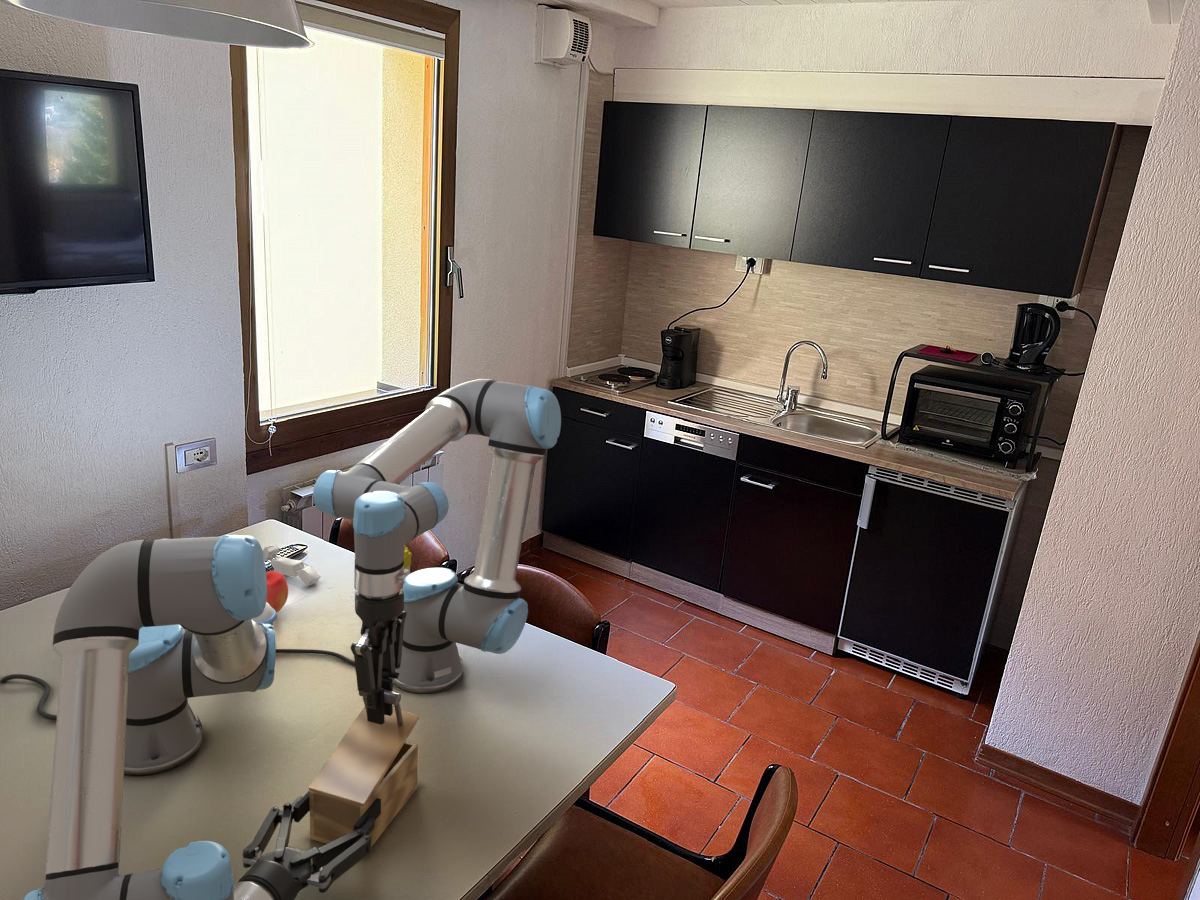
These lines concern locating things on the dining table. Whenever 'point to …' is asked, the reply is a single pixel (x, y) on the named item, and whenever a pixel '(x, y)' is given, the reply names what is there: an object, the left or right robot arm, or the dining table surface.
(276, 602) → the apple
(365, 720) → the lid
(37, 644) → the dining table surface
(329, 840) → the chest
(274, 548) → the white elongated piece
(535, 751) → the dining table surface
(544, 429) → the right robot arm
